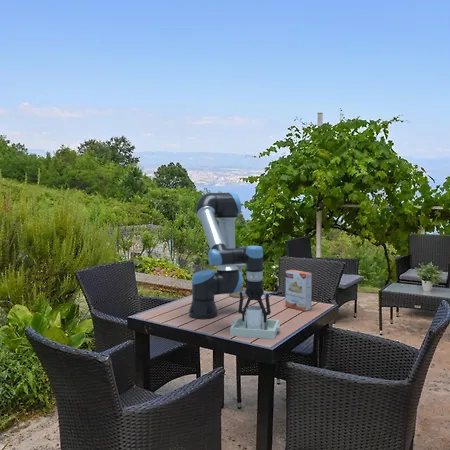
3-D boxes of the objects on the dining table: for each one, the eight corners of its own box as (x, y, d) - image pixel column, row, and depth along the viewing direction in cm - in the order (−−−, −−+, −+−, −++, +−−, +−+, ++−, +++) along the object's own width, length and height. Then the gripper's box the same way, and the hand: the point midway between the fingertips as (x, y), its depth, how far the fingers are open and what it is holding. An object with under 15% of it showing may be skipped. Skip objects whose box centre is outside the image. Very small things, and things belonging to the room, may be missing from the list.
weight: (245, 329, 222) (245, 321, 222) (247, 326, 226) (247, 319, 226) (266, 330, 220) (266, 323, 219) (267, 327, 224) (268, 320, 223)
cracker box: (284, 307, 264) (285, 270, 262) (291, 305, 269) (291, 269, 267) (305, 311, 254) (305, 273, 252) (311, 309, 259) (312, 272, 257)
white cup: (263, 331, 212) (263, 310, 211) (246, 332, 212) (246, 310, 211) (261, 326, 220) (262, 305, 219) (245, 326, 220) (245, 305, 219)
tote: (227, 337, 213) (227, 328, 213) (235, 326, 229) (235, 317, 229) (277, 341, 208) (277, 331, 207) (281, 329, 224) (281, 320, 224)
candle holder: (238, 299, 283) (238, 266, 281) (225, 295, 292) (225, 263, 290) (253, 295, 291) (253, 263, 289) (239, 292, 300) (239, 261, 298)
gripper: (231, 280, 213) (231, 329, 215) (275, 282, 208) (275, 332, 210) (234, 277, 220) (234, 324, 222) (277, 279, 215) (277, 327, 217)
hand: (254, 328), depth 216 cm, fingers closed on white cup, 7 cm apart
